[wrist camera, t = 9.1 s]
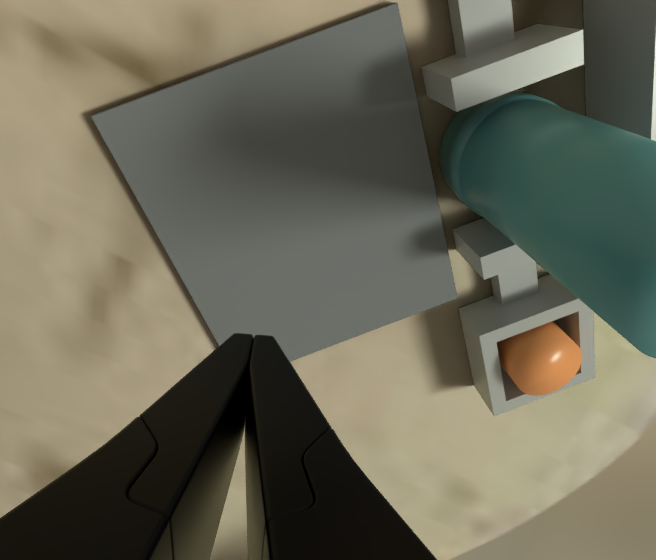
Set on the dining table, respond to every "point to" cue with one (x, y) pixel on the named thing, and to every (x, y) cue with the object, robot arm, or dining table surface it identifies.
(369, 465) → the dining table surface
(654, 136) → the housing
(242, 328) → the mat
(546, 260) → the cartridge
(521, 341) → the plunger
